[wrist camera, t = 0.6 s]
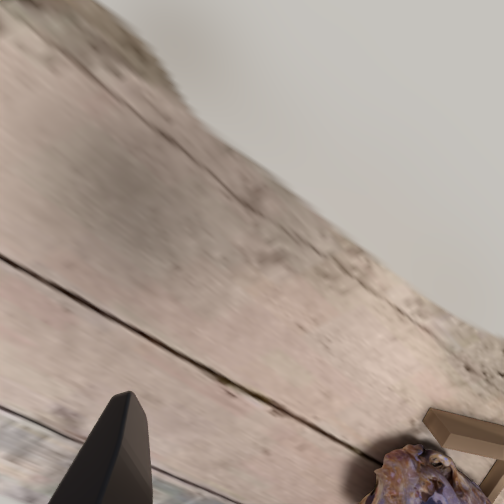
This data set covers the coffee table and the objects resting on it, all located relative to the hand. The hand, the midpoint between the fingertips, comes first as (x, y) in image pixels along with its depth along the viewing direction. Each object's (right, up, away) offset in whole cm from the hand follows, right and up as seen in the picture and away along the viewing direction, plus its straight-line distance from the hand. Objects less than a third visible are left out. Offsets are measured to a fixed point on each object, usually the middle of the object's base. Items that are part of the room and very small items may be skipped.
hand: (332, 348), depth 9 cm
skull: (+11, -16, +24) cm, 30 cm away
